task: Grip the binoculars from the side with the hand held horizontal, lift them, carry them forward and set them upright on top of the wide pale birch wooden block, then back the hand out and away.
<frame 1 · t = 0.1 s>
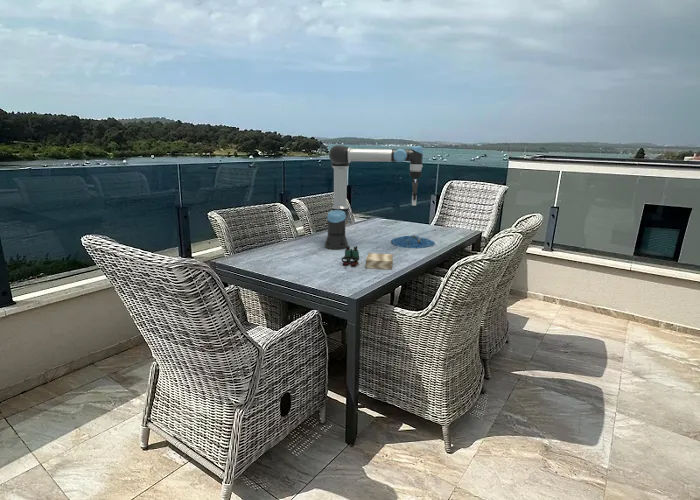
hand: (413, 204, 247), 28 cm above the table, tool pointing down, fingers open, 13 cm apart
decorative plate: (412, 243, 261), on the table
binoculars: (350, 265, 210), on the table
birch block: (379, 265, 211), on the table
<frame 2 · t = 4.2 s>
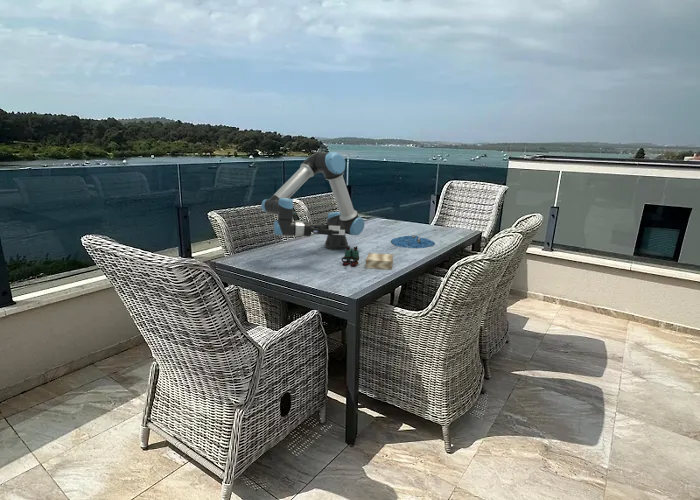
hand: (342, 230, 206), 20 cm above the table, tool horizontal, fingers open, 13 cm apart
nothing on the table moved.
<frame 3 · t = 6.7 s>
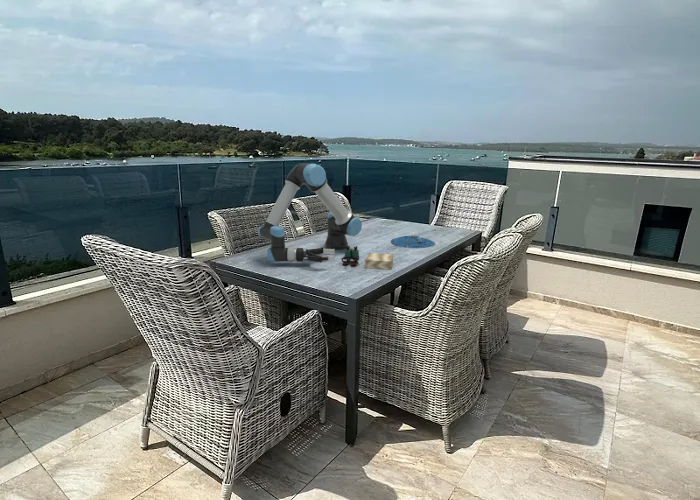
hand: (334, 254, 208), 6 cm above the table, tool horizontal, fingers open, 13 cm apart
nothing on the table moved.
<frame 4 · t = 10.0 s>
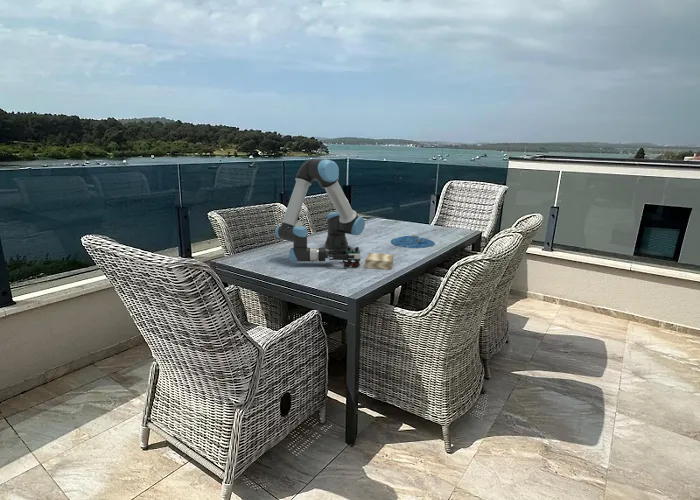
hand: (359, 254, 209), 6 cm above the table, tool horizontal, fingers closed on binoculars, 6 cm apart
binoculars: (351, 266, 209), on the table, touching gripper
everything else where it was.
when the fingers open (12 cm above the table, at t = 15.1 s): binoculars drops 2 cm, point 4 cm above the table.
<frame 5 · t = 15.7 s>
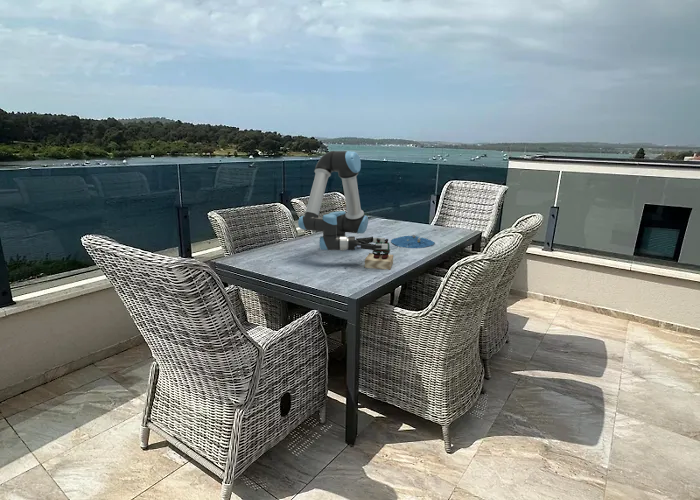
hand: (386, 243, 208), 12 cm above the table, tool horizontal, fingers open, 13 cm apart
binoculars: (381, 258, 209), point 4 cm above the table
everything else where it was.
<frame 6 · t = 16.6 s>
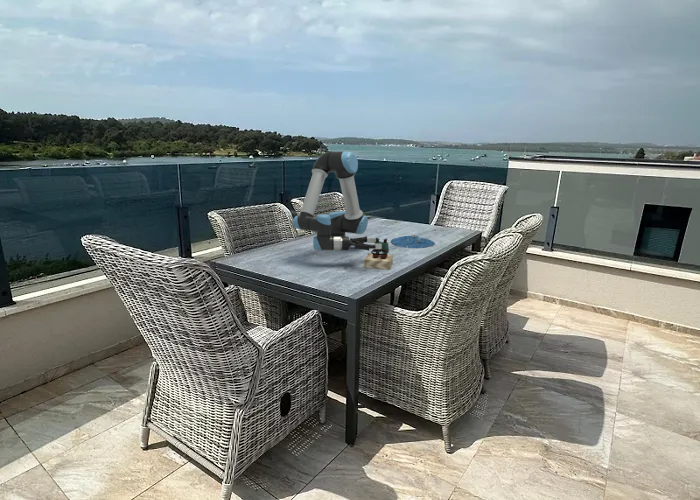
hand: (380, 243, 208), 13 cm above the table, tool horizontal, fingers open, 13 cm apart
binoculars: (380, 258, 209), point 4 cm above the table, touching birch block
birch block: (378, 265, 211), on the table, touching binoculars
everything else where it was.
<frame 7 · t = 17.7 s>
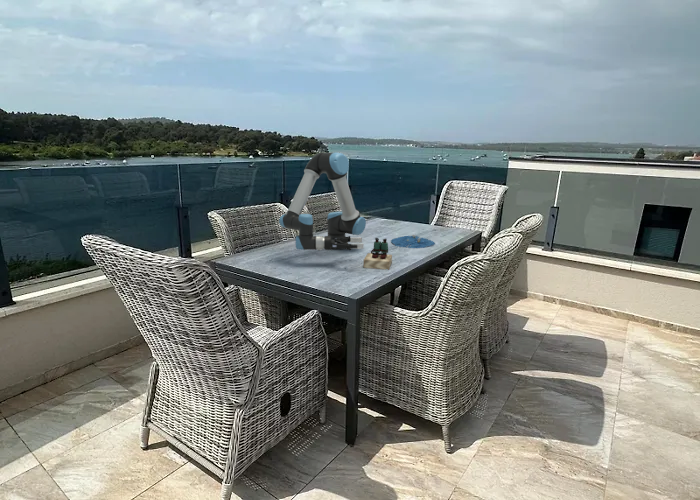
hand: (362, 243, 207), 13 cm above the table, tool horizontal, fingers open, 13 cm apart
binoculars: (379, 258, 209), point 4 cm above the table
birch block: (377, 265, 211), on the table
everything else where it was.
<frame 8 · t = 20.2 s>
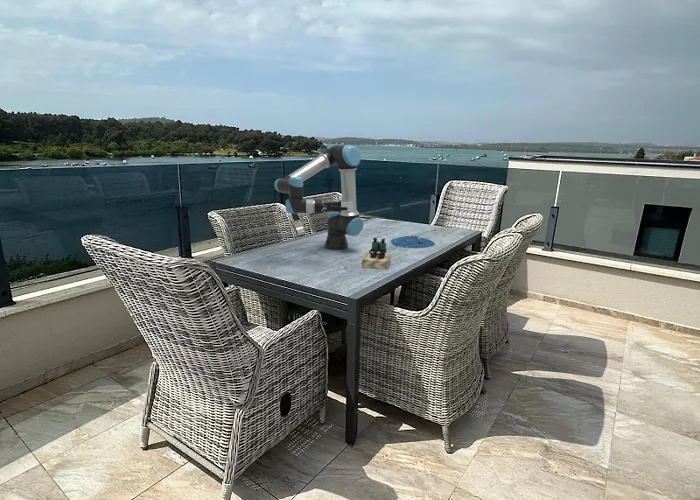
hand: (353, 206, 207), 32 cm above the table, tool horizontal, fingers open, 13 cm apart
binoculars: (377, 257, 209), point 4 cm above the table, touching birch block
birch block: (376, 265, 212), on the table, touching binoculars
everything else where it was.
at the end: binoculars inside the target area on the birch block (1.1 cm from its centre), point 4.8 cm above the birch block's base; binoculars tilted 1°; the gripper is holding nothing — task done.
